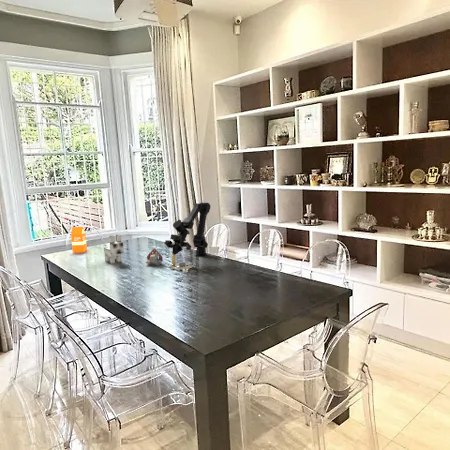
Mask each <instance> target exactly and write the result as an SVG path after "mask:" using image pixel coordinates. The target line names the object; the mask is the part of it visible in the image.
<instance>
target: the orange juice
mask: <svg viewBox="0 0 450 450" xmlns="http://www.w3.org/2000/svg"><path fill="white" fill-rule="evenodd" d="M70 238H71V239H70V240H71V247H72V253H73V254H74V253H85V252H86V251H87V250H88V248H87V246H88V245H87V237H86V231H85V228H84V226H72V227H71V234H70Z"/></svg>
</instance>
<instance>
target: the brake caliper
mask: <svg viewBox="0 0 450 450" xmlns="http://www.w3.org/2000/svg"><path fill="white" fill-rule="evenodd" d="M163 258H164V256H163V255H162V254H160V252H159V251H158V250H157V249H156V248H153V249H152V250H151V251H150V252H149V253H148V254H147V256H146V261H145V263H146V265H145V266H146V267H148V266H160V265H161V264H162V262H163V261H164V260H163Z"/></svg>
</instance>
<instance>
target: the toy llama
mask: <svg viewBox="0 0 450 450" xmlns="http://www.w3.org/2000/svg"><path fill="white" fill-rule="evenodd" d="M115 238H116V241H115ZM108 239H109V246H108V247H104V248H103V249H104V262H105V263H109V264H111V265H115V264H116V263H118V264H119V263H122V254H125V250H124V248H125V247H124V242H123V241H122V235H121V234H119V233H118V234H115V235H109V236H108Z"/></svg>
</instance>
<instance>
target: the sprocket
mask: <svg viewBox="0 0 450 450" xmlns="http://www.w3.org/2000/svg"><path fill="white" fill-rule="evenodd" d="M176 260H177V259H176V255H175V254H172V253H171V265H168V268H169V270H174V271H175V270H177V271H179V272H180V271H183V269H185V268H186V269H188V271H189V270H190V269H194V268H196V265H197V264H196V263H192V262H191V261H188V262H184V261H180V262H178V263H176V262H177V261H176Z"/></svg>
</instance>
